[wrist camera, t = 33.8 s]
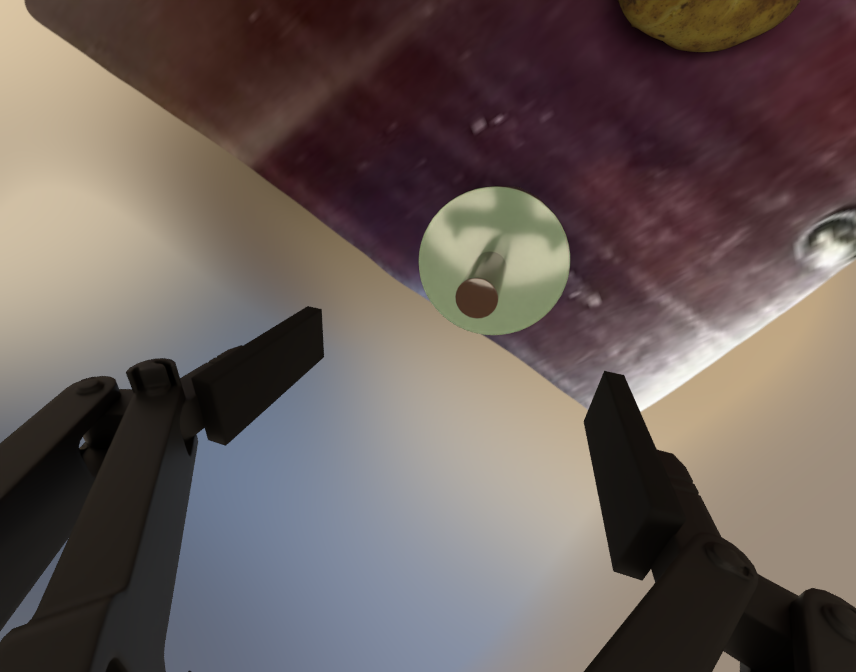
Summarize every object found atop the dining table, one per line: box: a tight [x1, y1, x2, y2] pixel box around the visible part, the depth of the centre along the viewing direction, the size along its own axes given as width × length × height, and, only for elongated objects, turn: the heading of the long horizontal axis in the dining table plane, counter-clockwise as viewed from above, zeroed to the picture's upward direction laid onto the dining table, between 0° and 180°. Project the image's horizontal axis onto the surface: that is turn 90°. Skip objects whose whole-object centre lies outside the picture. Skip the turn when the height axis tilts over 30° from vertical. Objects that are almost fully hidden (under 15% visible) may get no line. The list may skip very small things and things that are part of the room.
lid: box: [419, 186, 570, 335], centre depth 28 cm, size 14×14×10 cm
